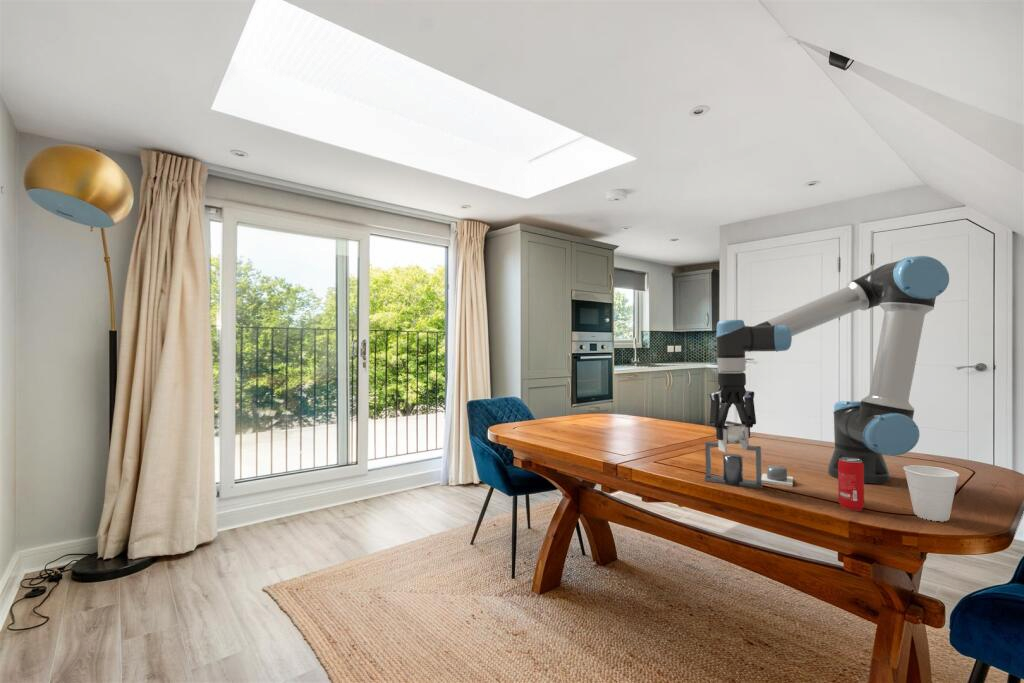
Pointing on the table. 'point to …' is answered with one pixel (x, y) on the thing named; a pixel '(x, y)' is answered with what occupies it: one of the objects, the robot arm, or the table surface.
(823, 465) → the table surface
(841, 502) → the beverage can
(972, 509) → the table surface
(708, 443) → the gray u-shaped frame
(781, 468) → the stand
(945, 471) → the cup
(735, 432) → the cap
